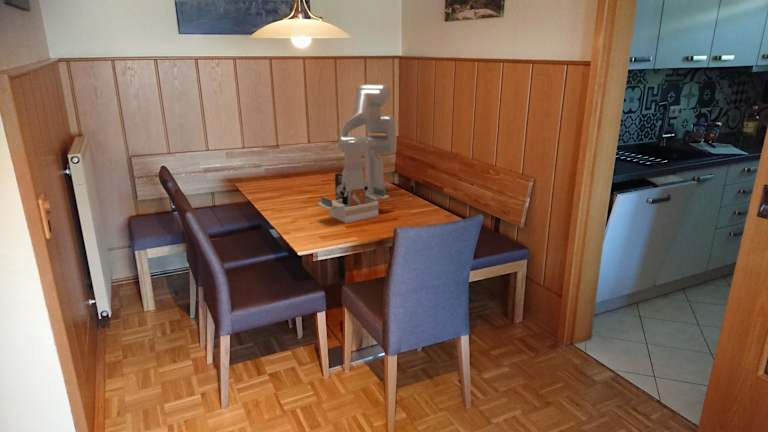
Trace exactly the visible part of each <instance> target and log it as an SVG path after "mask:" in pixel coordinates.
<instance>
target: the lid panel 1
mask: <svg viewBox="0 0 768 432" xmlns="http://www.w3.org/2000/svg"><path fill="white" fill-rule="evenodd" d="M320 198H321V201H320V202H315V203H316V204H315V205H316V206H319V207H321V208H324V209H326V210H328V211H330V209H335V208H340V207H345V205H343V204H341V203H338V202H336V200H334V199H330V198H327V197H325V196H321V197H320Z"/></svg>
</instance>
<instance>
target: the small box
mask: <svg viewBox="0 0 768 432" xmlns="http://www.w3.org/2000/svg"><path fill="white" fill-rule="evenodd" d="M346 196H347V205H345V204H344V205H345V208H347V207H352V206H357V205H362V204H365V188H359V189H353V190H349V192H348V194H347V195H346Z"/></svg>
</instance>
